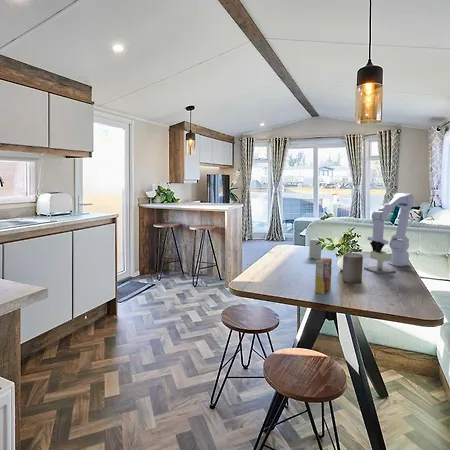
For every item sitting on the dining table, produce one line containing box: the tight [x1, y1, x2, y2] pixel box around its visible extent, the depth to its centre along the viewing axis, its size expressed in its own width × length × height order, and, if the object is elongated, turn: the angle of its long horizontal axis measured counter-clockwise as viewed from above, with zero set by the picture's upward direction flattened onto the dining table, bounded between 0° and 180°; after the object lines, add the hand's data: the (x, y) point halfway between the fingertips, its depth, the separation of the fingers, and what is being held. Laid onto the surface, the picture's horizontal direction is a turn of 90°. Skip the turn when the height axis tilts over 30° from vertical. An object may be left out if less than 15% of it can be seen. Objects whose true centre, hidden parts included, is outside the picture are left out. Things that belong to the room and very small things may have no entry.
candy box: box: [314, 257, 333, 295], centre depth 170 cm, size 9×4×15 cm, turn 140°
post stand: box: [363, 260, 397, 275], centre depth 209 cm, size 12×12×6 cm
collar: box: [369, 250, 392, 262], centre depth 209 cm, size 8×8×4 cm
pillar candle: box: [341, 252, 364, 284], centre depth 188 cm, size 10×10×15 cm
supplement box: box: [308, 238, 322, 260], centre depth 240 cm, size 7×7×13 cm
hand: (376, 254), depth 212 cm, fingers closed on collar
